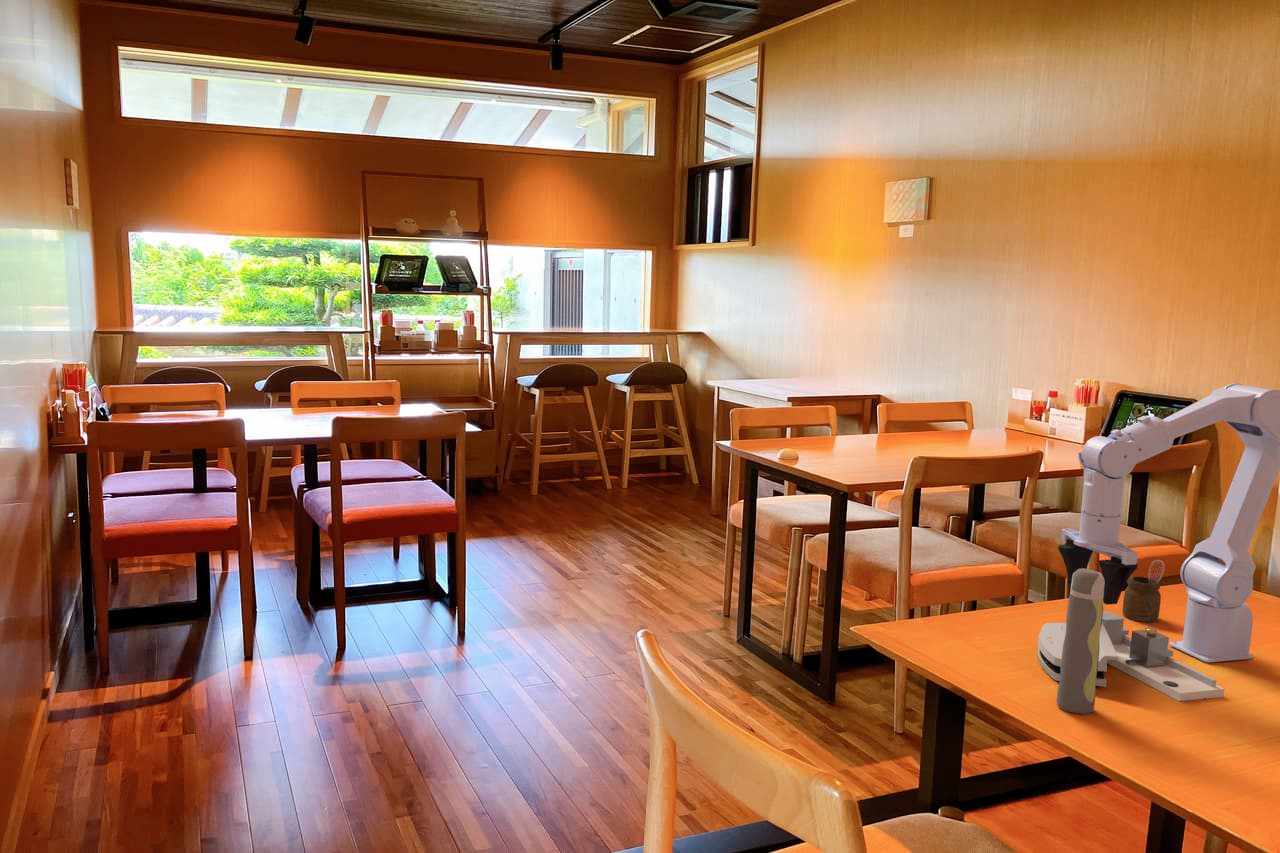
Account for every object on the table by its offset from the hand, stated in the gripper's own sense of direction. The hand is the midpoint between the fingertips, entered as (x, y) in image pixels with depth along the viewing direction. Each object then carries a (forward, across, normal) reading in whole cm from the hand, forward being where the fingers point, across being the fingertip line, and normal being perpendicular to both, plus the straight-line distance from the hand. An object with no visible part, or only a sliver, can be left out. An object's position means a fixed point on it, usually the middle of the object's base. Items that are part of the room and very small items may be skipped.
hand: (1092, 595), depth 158 cm
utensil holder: (+10, -14, +23) cm, 28 cm away
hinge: (+8, +6, -3) cm, 11 cm away
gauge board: (+10, +7, +5) cm, 13 cm away
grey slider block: (+8, +8, +5) cm, 12 cm away
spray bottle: (+10, +17, -16) cm, 26 cm away
